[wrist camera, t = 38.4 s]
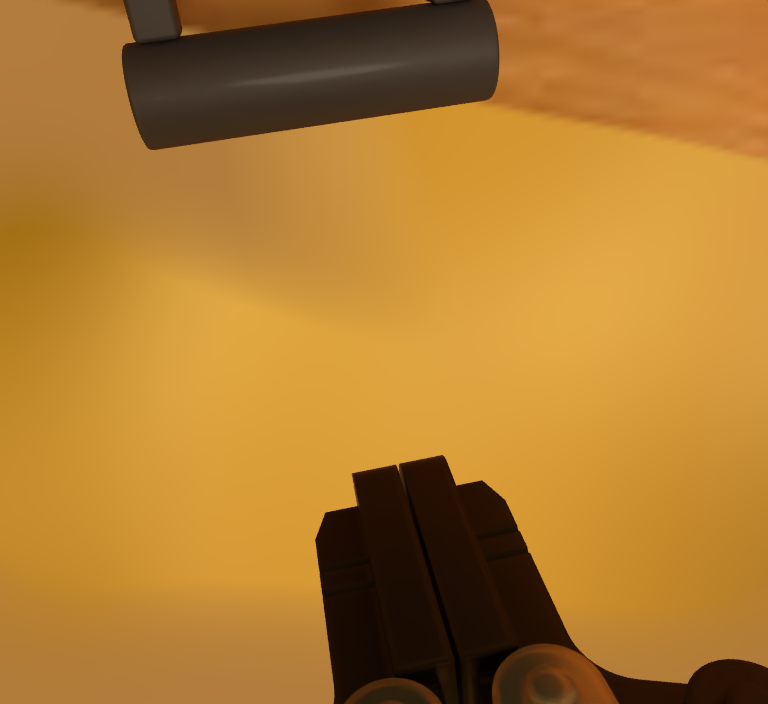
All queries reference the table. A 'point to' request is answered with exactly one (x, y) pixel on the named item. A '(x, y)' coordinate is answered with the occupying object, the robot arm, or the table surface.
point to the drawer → (303, 69)
